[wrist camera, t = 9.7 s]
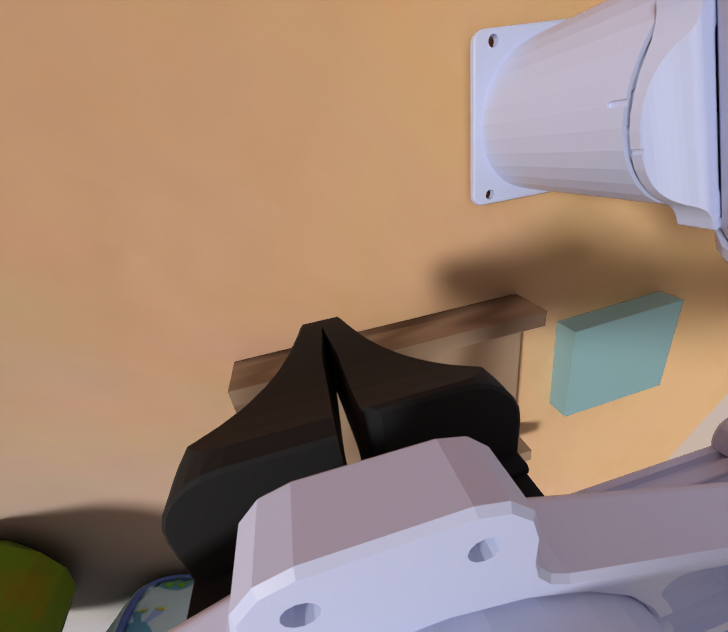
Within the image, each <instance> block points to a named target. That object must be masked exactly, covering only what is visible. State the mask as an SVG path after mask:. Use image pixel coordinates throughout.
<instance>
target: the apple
mask: <svg viewBox="0 0 728 632" xmlns="http://www.w3.org/2000/svg"><path fill="white" fill-rule="evenodd" d="M76 586H77V585H76V584H75V582H74V580H73V578H72V577H71V575H70V573H69V572H68V570H67V568H66V567H64V566H62V565H61V564H59V563H57V562H56V561H54V560H52V559H51V558H49V557H47V556H46V555H44V554H42V553H40V552H38V551H36V550H34V549H32V548H29V547H27V546H24V545H21V544H18V543H15V542H12V541H9V540H0V632H62V631H63V628H64V624H65V621H66V618H67V615H68V612H69V609H70V606H71V603H72V599H73V596H74V593H75V589H76Z"/></svg>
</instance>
